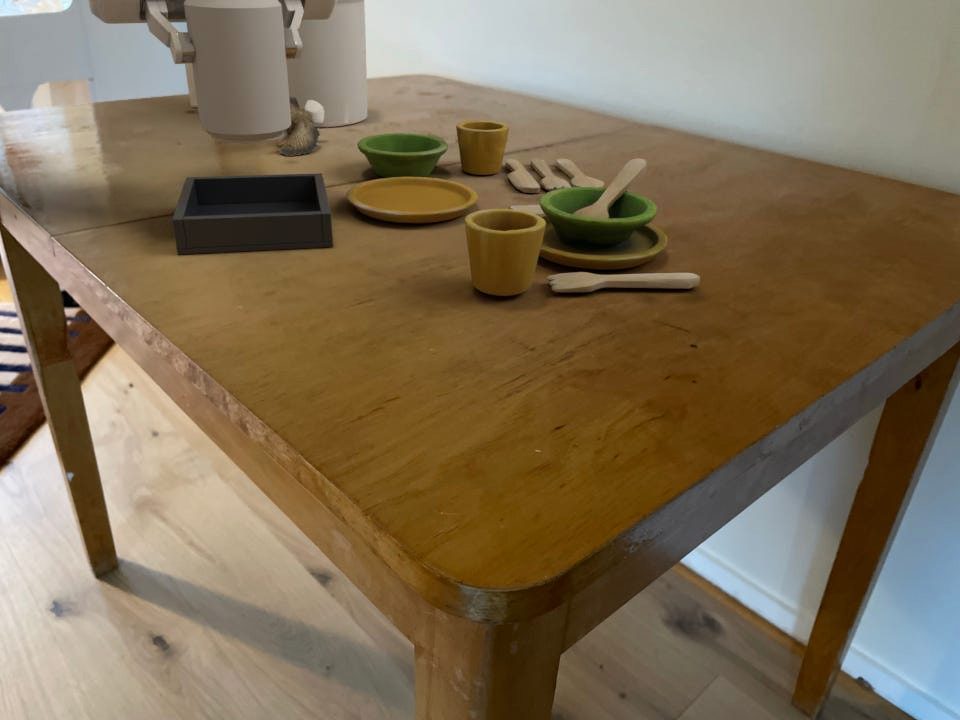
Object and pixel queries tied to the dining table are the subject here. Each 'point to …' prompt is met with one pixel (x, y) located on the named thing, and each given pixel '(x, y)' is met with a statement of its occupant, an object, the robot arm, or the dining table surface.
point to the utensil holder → (333, 65)
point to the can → (240, 68)
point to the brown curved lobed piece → (302, 128)
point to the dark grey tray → (252, 213)
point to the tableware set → (519, 213)
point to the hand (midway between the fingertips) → (241, 56)
